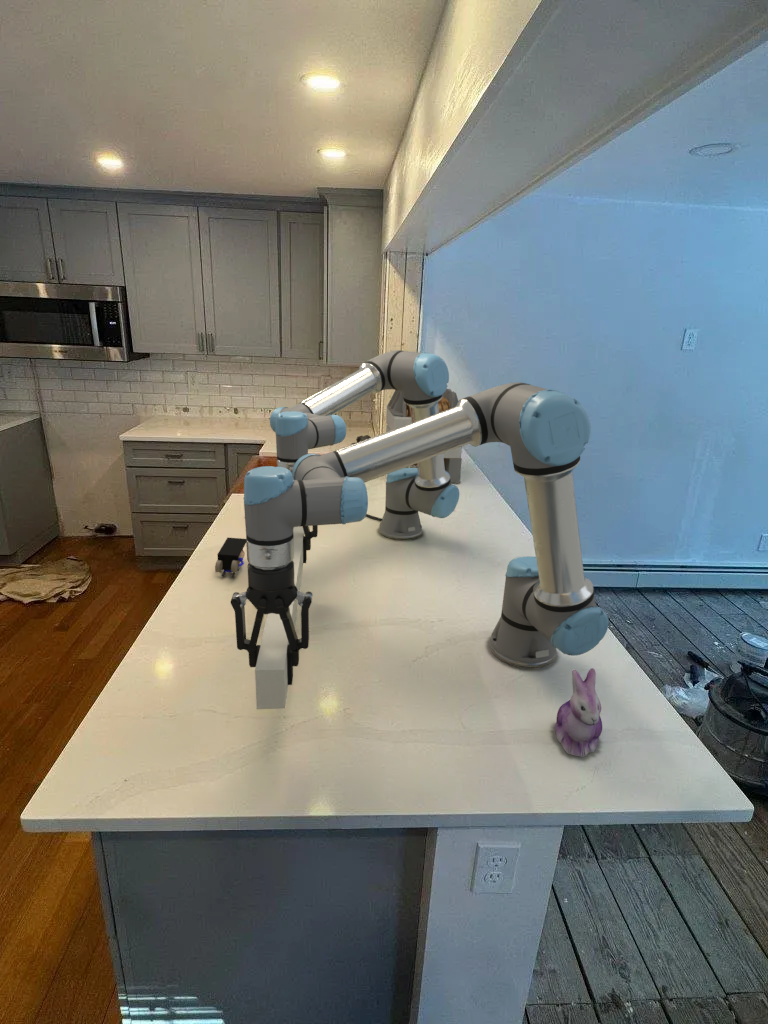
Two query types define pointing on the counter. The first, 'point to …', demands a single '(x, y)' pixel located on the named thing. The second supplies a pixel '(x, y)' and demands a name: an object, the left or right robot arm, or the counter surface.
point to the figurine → (580, 717)
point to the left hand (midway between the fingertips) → (294, 560)
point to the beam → (277, 645)
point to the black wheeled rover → (230, 556)
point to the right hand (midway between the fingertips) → (274, 680)
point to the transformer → (401, 416)
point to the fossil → (361, 438)
